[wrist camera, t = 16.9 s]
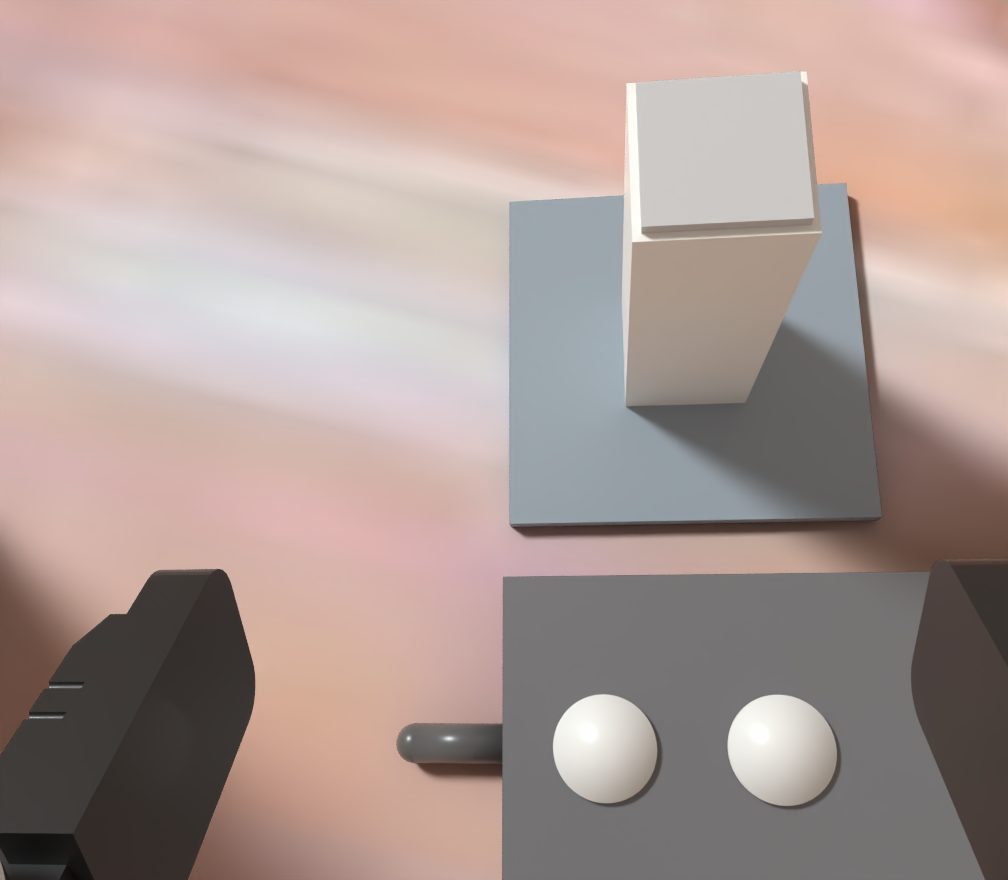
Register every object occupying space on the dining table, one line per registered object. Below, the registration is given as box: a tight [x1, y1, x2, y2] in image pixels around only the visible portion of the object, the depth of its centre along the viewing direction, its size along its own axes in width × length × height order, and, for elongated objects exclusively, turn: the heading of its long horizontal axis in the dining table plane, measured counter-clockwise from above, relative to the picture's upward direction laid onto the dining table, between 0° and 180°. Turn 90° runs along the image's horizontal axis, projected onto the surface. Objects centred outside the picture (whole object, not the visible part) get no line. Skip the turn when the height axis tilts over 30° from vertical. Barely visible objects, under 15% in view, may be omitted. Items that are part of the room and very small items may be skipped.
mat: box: [509, 183, 882, 527], centre depth 32 cm, size 12×12×1 cm
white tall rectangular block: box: [622, 71, 822, 406], centre depth 26 cm, size 4×4×12 cm
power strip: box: [397, 572, 985, 880], centre depth 27 cm, size 28×10×3 cm, turn 90°
